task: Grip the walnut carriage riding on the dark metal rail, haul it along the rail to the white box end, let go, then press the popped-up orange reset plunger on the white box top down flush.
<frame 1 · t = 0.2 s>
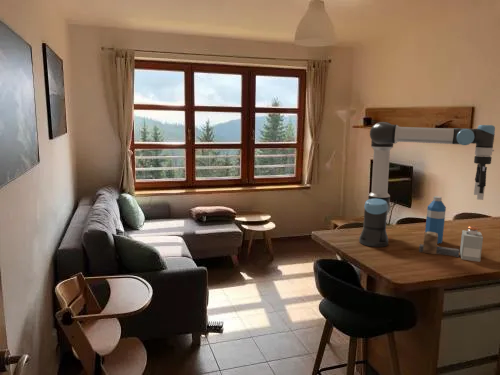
hand: (478, 197, 206), 28 cm above the table, fingers open, 13 cm apart
plunger: (472, 233, 195), point 12 cm above the table, slide at 0.0 cm
water bottle: (433, 241, 222), on the table
carriage: (430, 242, 203), point 5 cm above the table, slide at -4.1 cm
white box: (469, 257, 197), on the table
rail: (438, 253, 202), on the table
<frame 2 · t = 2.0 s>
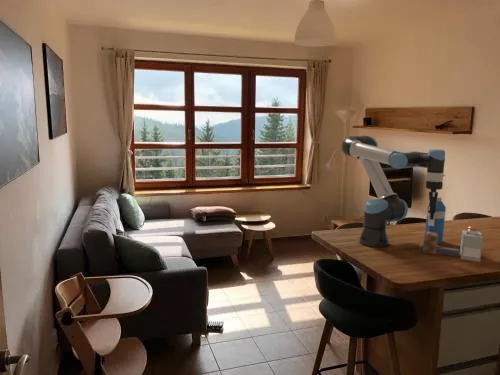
hand: (430, 222, 201), 15 cm above the table, fingers open, 13 cm apart
nothing on the table moved.
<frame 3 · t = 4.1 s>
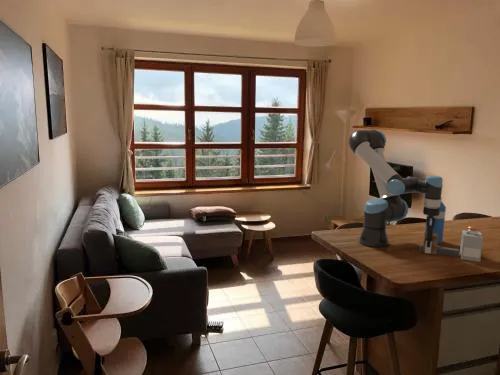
hand: (427, 250, 204), 1 cm above the table, fingers closed on carriage, 7 cm apart
carriage: (430, 242, 203), point 5 cm above the table, slide at -4.1 cm, touching gripper
everything else where it was.
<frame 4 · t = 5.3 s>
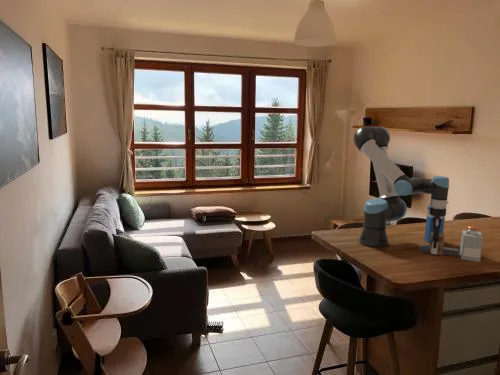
hand: (433, 251, 203), 1 cm above the table, fingers closed on carriage, 7 cm apart
carriage: (436, 243, 202), point 5 cm above the table, slide at -1.2 cm, touching gripper
everything else where it was.
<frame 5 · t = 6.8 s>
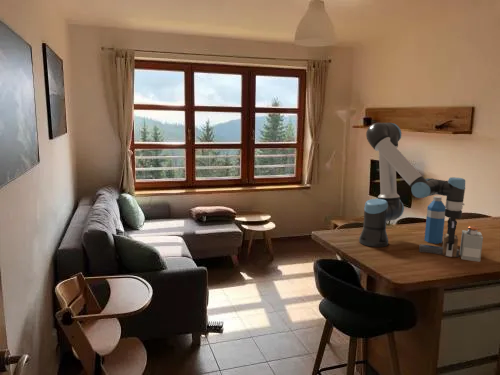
hand: (448, 253, 201), 0 cm above the table, fingers closed on carriage, 7 cm apart
carriage: (449, 244, 200), point 5 cm above the table, slide at 4.8 cm, touching gripper, rail
everything else where it was.
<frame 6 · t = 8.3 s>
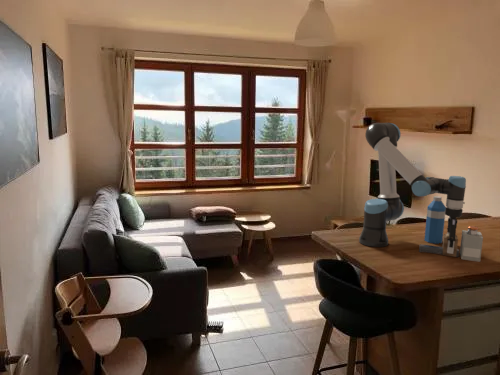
hand: (449, 249, 200), 3 cm above the table, fingers open, 13 cm apart
carriage: (449, 244, 200), point 5 cm above the table, slide at 4.8 cm, touching rail
everything else where it was.
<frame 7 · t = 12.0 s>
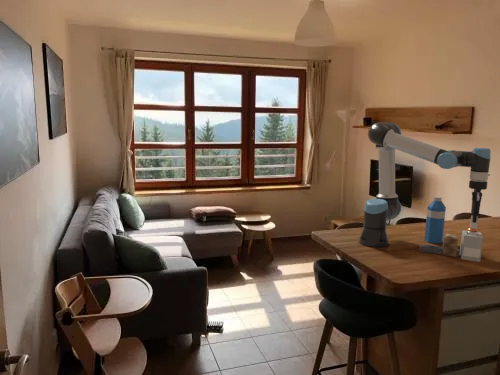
hand: (473, 228, 194), 15 cm above the table, fingers closed
plunger: (472, 234, 195), point 11 cm above the table, slide at -0.8 cm, touching gripper
everything else where it was.
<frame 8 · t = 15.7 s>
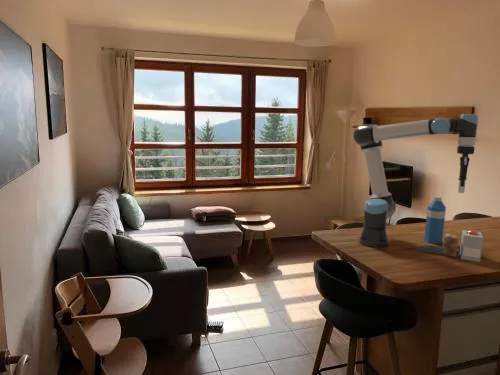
hand: (461, 192, 202), 30 cm above the table, fingers closed
plunger: (471, 237, 195), point 10 cm above the table, slide at -2.1 cm
everything else where it was.
at the end: carriage slide at 4.8 cm; plunger slide at -2.1 cm; the gripper is holding nothing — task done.
